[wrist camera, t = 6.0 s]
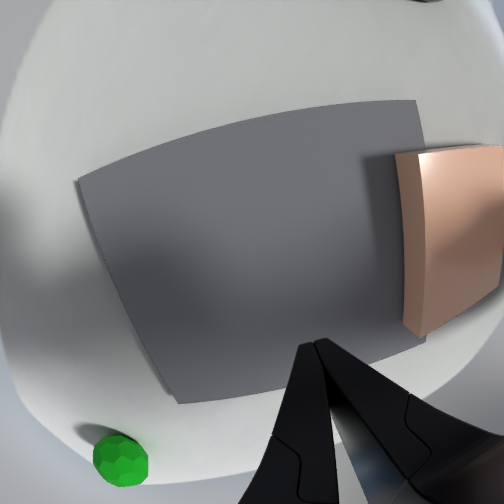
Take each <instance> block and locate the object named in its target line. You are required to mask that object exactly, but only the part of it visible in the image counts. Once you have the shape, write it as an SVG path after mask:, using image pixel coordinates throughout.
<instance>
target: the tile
mask: <svg viewBox="0 0 504 504" xmlns="http://www.w3.org/2000/svg"><path fill="white" fill-rule="evenodd" d="M395 159H396V166H397V173H398V180H399V188H400V197H401V207H402V219H403V234H404V263H405V284H404V313H403V325H405V326H406V327H407V328H408V329H409V330H410V331H411V332H413V333H414V334H415V335H416V336H417V337H418V338H419V339H420V338H421V337H423V336H425V335H427V334H428V333H430V332H432V331H433V330H435V329H437V328H438V327H440V326H442V325H443V324H445V323H446V322H448V321H450V320H451V319H453V318H454V317H456V316H457V315H459V314H460V313H462V312H463V311H465V310H466V309H468V308H469V307H471V306H472V305H473V304H475V303H476V302H478V301H479V300H480V299H482V298H483V297H484V296H486V295H487V294H489V293H490V292H491V291H492V290H494V289H495V288H496V287H498V286H499V280H500V273H501V266H502V259H503V250H504V154H503V145H490V144H477V145H464V146H454V147H444V148H435V149H427V150H419V151H411V152H404V153H397V154H395Z"/></svg>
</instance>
